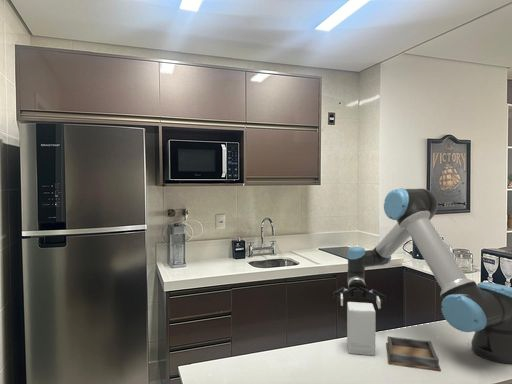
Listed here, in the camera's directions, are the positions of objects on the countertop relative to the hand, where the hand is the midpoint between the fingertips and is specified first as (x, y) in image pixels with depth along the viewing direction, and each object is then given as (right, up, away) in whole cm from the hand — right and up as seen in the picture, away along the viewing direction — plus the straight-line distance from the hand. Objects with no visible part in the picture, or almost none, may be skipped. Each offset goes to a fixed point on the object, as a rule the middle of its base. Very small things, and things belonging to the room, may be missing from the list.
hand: (360, 303), depth 134 cm
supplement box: (-3, -13, -10) cm, 17 cm away
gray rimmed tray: (+12, -13, -16) cm, 24 cm away
